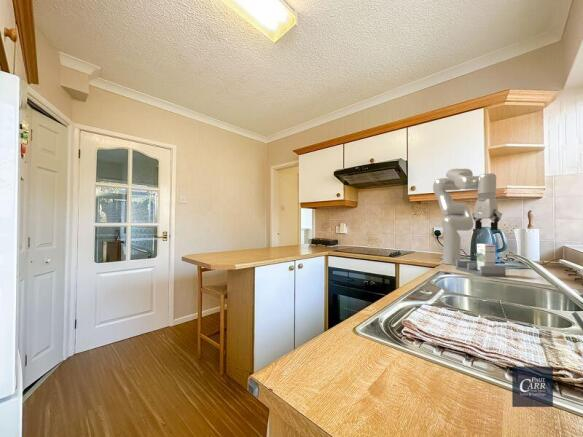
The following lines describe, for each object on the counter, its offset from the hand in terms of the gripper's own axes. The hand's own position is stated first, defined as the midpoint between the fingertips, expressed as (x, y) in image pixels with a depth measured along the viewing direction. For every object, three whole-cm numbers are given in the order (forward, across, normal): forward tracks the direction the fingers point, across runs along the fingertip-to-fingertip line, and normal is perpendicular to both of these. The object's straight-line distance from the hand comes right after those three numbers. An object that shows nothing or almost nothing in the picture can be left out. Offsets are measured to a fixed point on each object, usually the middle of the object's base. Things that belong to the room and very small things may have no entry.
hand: (485, 229), depth 129 cm
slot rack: (+24, -4, 0) cm, 24 cm away
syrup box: (+22, 0, 0) cm, 22 cm away
